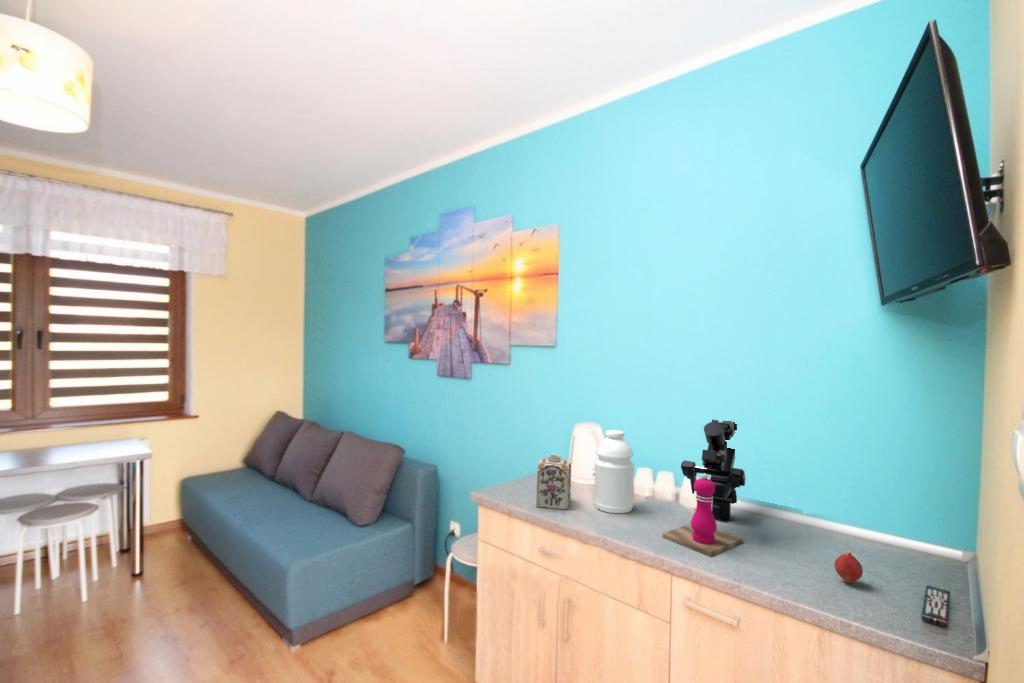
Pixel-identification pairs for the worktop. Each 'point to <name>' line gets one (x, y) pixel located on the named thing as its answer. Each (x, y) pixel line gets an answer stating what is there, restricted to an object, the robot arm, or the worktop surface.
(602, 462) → the bottle
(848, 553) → the onion
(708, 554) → the tan cloth
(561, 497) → the decorative jar
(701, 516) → the pepper mill
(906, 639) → the worktop surface
